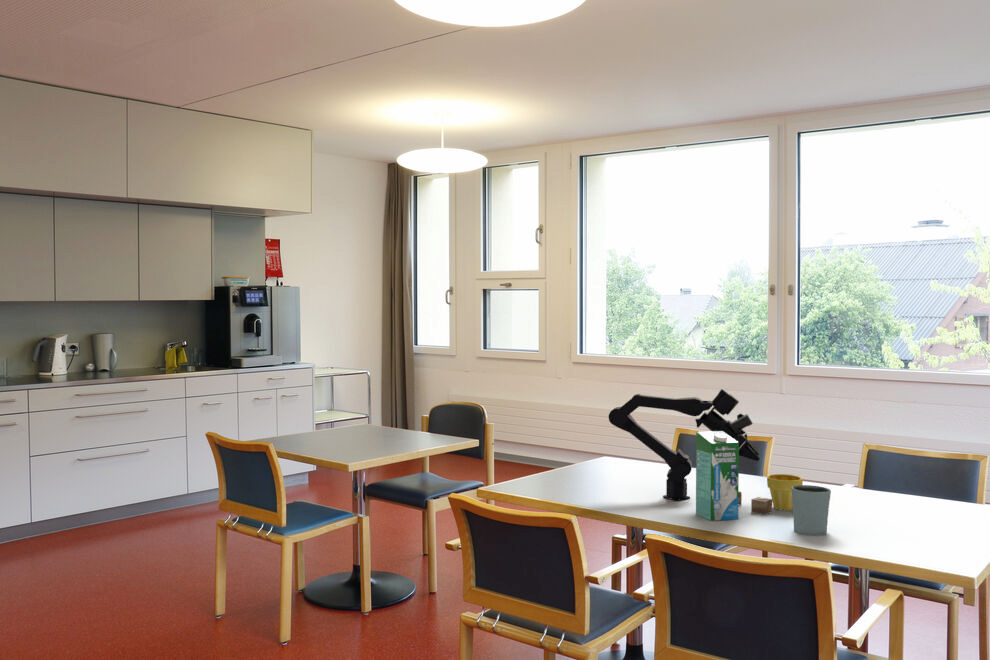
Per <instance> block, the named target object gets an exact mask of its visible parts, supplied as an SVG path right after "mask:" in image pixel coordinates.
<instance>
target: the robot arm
mask: <svg viewBox="0 0 990 660" xmlns="http://www.w3.org/2000/svg"><path fill="white" fill-rule="evenodd" d="M739 403H740V401H739V400H738V399H737V398H736V397H735V396H733V395H732V394H730V393H728V392H727V391H726V390H724V389H723V388H721V389H720V390H719V391H718V393H717V395H716V396H715V397H714V398H713V399H712V400H703V399H701V398H699V397H697V396H695V397H694V396H693V397H681V398H674V397H673V398H672V397H663V396H654V395H645V394H641V393H636V394H634V395H633V396H632V397H631V398H630V399H629V400H628V401H626V402H625V404H623V405H622V406H617V407H614V408H613V409H611V411H609V414H608V420H609V423H610V424H611V425H613V426H614V427H616V428H618V429H621V430H622V431H625V432H627V433H629V434H630V435H631V436H633V437H634V438H636V439H637V440H639V441H640V442H641V443H642V444H643V445H645V446H646V447H647V448H648V449H650V450H651V451H653V452H654V453H655V454H656V455H657V456H659V457H660V458H661V459H663V461H664V462H665V463H666V464H667V466H668V467H669V469H668V471H667V473H666V477H667V478H666V484H665V485H666V490H665V491H666V492H665V494H664V495H662V498H666V499H670V500H673V501H682V500H688V499H690V498H691V496H689V495H688V483H687V481H688V480H687V478H686V477H688V476H689V474H690V473H692V469H693V462H692V460H691V459H690V455H688V454H685V453H684V451H682V450H681V449H680V448H678V450H677V451H676V450H673V449H671V448H669V446H667V445H666V444H664V443H663V442H662V441H661V440H659V439H658V438H657V437H656V436H654V435H653V434H652V433H650V431H647V429H646V428H644V427H643V426H641V425H640V424H639V423H637V421H636V420H635V418H634V417H633V415H631V414H632V413H633V412H634V411H635V410H637V409H638V408H639V407H641V408H650V409H660V410H668V411H675V412H678V413H681V414H684V415H687V416H691V417H698V416H700V417H699V418H695V419H694V420H695V423H696V428H700V426H701V425H703V426H704V427H706V428H707V429H708V431H723V432H725V433H726V434H728V435H729V436H730V437H732V438H733V439H735V440H736V441H737V442H739V456H740V457H743V458H746V459H748V460H749V459H750V460H752V461H756V462H758V461H760V457H759V456H760V454H759V452H758V451H757V450H756V448H754V446H753V445H752V444H751V443H750V441H749V439H748V434H747V432H746V431H745V430H744V429H745V428H747V427H750V426H752V425H753V421H752V420H751V418H750V417H749V415H748V414H742V413H741V412H740V413H739V414H737V415H736V418H737V419H734V421H730V420H726V418H723V416H725V415H728V416H729V415H730V414H731V412H732V411H733V410H734V409H735V407H737V406H738V404H739ZM705 411H708V412H705Z"/></svg>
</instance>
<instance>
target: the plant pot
mask: <svg viewBox="0 0 990 660" xmlns="http://www.w3.org/2000/svg"><path fill="white" fill-rule="evenodd" d="M766 479H767V480H766V482H767V488H768V489H769V491H770V492H769V493H770V496H771V499H772V508H774V509H775V508H776V510H778V509H781V510H780V511H793V502H792V488H791V487H792V486H796V485H804V484H803V477H802V476H799V475H794V474H788V473H774V474H769V475H767V476H766Z"/></svg>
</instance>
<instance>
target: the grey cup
mask: <svg viewBox="0 0 990 660" xmlns="http://www.w3.org/2000/svg"><path fill="white" fill-rule="evenodd" d="M791 488H792V502H793V510H792V517H793V530H794V532H795V533H798V534H800V535H806V536H824V535H826V534H827V532H828V522H829V521H828V518H829V511H830V510H829V509H830V500H831V491H832V490H831V489H830V488H828V487H824V486H818V485H810V484H809V485H807V484H803V485H796V486H792V487H791Z"/></svg>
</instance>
